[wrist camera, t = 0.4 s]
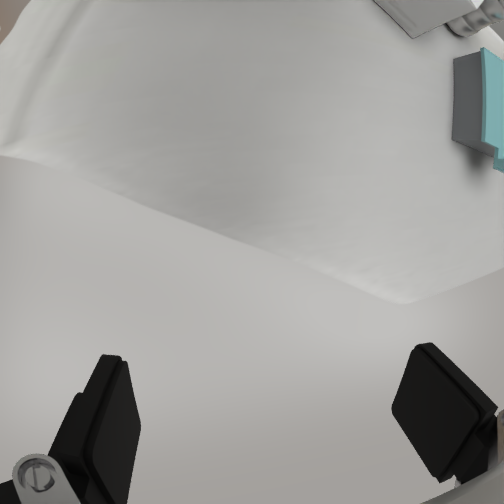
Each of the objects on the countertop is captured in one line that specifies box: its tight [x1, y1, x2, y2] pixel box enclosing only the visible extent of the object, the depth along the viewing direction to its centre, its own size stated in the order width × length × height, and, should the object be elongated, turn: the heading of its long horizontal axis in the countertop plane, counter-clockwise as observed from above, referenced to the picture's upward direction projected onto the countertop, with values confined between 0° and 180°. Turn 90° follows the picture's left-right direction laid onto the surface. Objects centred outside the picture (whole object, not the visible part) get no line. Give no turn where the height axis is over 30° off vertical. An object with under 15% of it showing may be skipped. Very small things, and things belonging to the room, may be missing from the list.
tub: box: [452, 51, 495, 158], centre depth 34 cm, size 14×11×7 cm
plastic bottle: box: [447, 0, 504, 36], centre depth 23 cm, size 6×7×20 cm
